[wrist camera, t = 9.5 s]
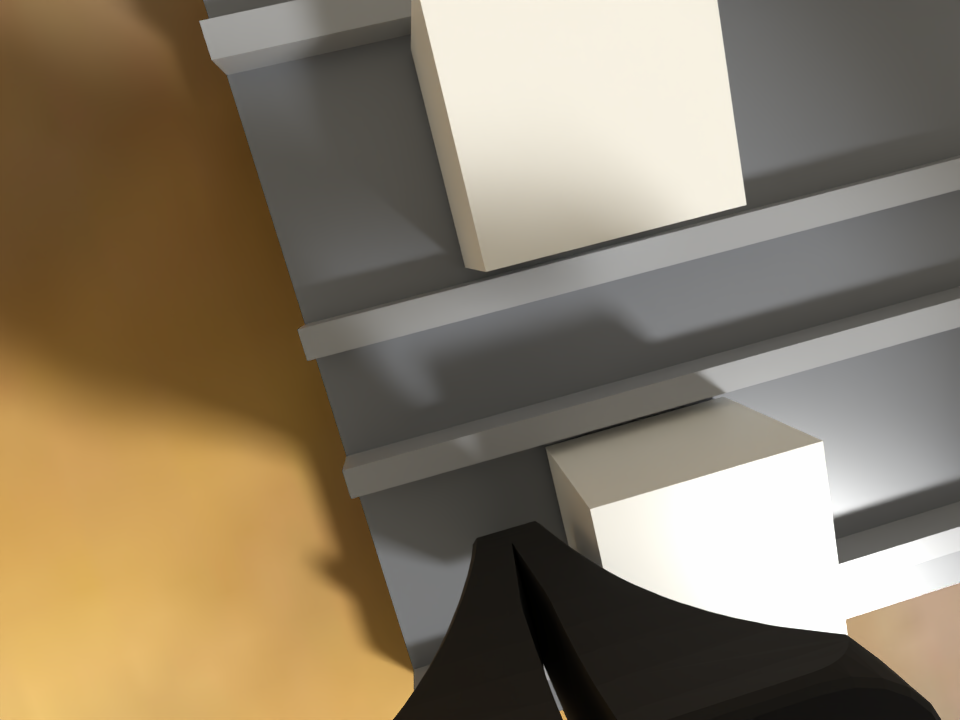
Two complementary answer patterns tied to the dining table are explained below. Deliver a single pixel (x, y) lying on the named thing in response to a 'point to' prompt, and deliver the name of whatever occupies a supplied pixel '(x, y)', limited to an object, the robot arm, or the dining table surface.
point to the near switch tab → (575, 119)
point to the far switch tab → (708, 512)
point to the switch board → (626, 287)
